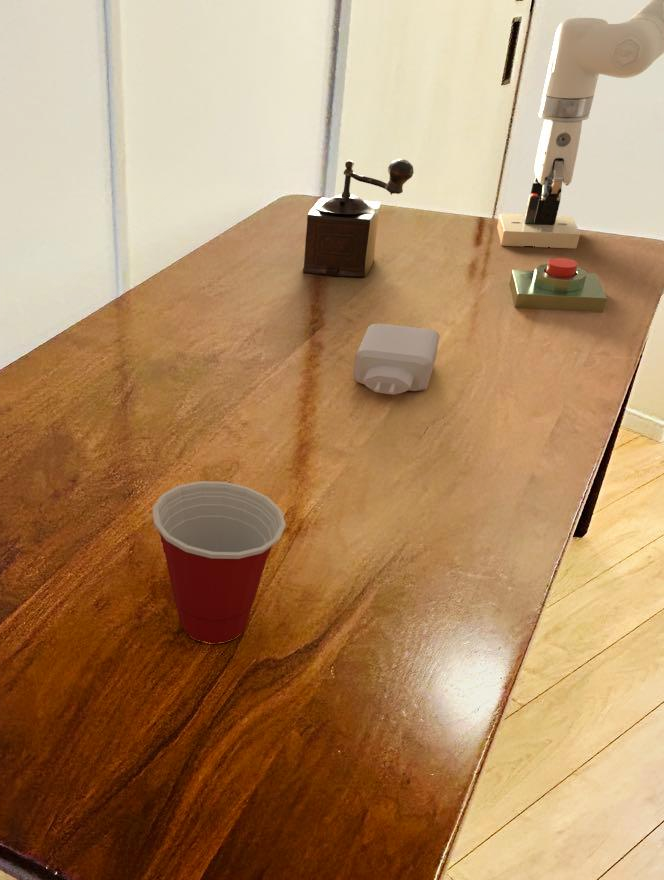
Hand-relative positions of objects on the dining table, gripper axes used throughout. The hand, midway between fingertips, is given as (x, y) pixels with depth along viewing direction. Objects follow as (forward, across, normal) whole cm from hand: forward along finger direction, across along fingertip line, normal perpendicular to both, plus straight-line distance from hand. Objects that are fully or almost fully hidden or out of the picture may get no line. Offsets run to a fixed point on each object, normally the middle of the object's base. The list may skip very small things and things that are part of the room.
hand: (540, 215), depth 155 cm
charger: (+4, -61, +24) cm, 65 cm away
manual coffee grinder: (+4, -19, +30) cm, 36 cm away
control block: (+4, -28, 0) cm, 28 cm away
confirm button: (0, -28, 0) cm, 28 cm away
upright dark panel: (+1, 0, 0) cm, 1 cm away
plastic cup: (+4, -111, +38) cm, 117 cm away
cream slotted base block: (+4, 0, 0) cm, 4 cm away
